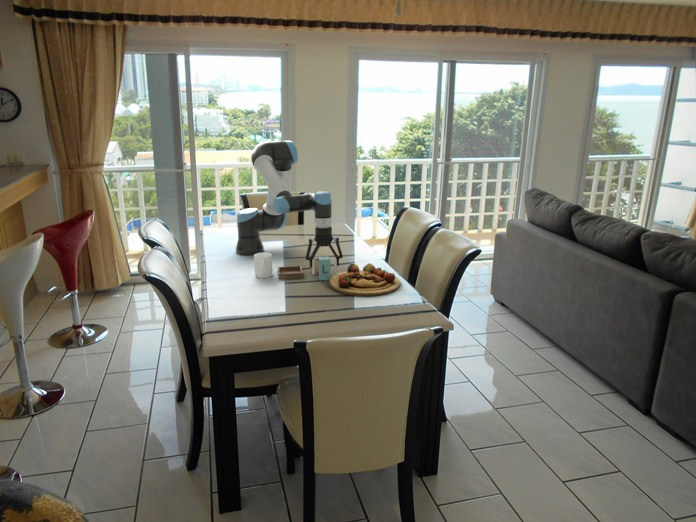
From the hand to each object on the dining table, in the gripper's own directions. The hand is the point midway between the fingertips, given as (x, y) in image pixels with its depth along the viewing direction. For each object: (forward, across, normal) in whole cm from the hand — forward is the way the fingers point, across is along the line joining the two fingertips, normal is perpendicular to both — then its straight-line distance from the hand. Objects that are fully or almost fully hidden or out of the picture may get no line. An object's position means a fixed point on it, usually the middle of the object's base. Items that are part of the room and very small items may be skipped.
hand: (324, 273), depth 245 cm
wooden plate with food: (+3, +17, -12) cm, 21 cm away
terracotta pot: (+3, -2, +10) cm, 11 cm away
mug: (+3, -28, +8) cm, 29 cm away
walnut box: (+3, -16, +8) cm, 18 cm away
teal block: (+3, 0, 0) cm, 3 cm away
